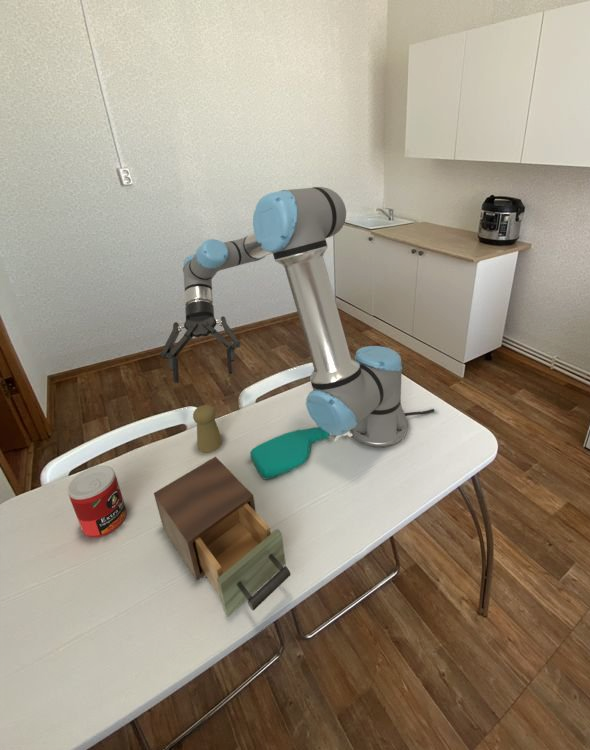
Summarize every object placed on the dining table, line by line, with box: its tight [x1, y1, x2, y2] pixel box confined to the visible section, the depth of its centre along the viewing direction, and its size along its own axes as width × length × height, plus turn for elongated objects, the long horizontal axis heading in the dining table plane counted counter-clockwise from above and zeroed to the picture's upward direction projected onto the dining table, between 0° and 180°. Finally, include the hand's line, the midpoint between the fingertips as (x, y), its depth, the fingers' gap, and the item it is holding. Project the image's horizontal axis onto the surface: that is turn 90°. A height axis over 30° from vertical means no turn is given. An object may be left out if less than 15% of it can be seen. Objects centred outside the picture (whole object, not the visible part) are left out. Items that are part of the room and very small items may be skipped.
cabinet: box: [153, 456, 257, 581], centre depth 74 cm, size 15×13×10 cm
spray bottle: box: [250, 426, 353, 480], centre depth 96 cm, size 3×11×25 cm
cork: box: [192, 404, 223, 454], centre depth 96 cm, size 6×6×11 cm
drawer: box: [193, 503, 292, 617], centre depth 66 cm, size 18×11×8 cm, turn 47°
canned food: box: [67, 465, 127, 539], centre depth 76 cm, size 8×8×11 cm
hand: (203, 377), depth 102 cm, fingers open, 13 cm apart
